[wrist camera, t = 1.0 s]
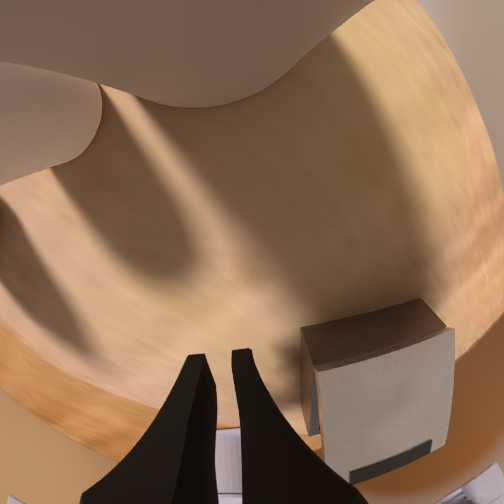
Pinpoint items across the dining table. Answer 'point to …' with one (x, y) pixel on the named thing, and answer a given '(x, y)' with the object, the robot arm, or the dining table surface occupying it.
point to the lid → (386, 406)
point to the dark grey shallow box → (357, 344)
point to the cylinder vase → (170, 43)
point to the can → (44, 119)
